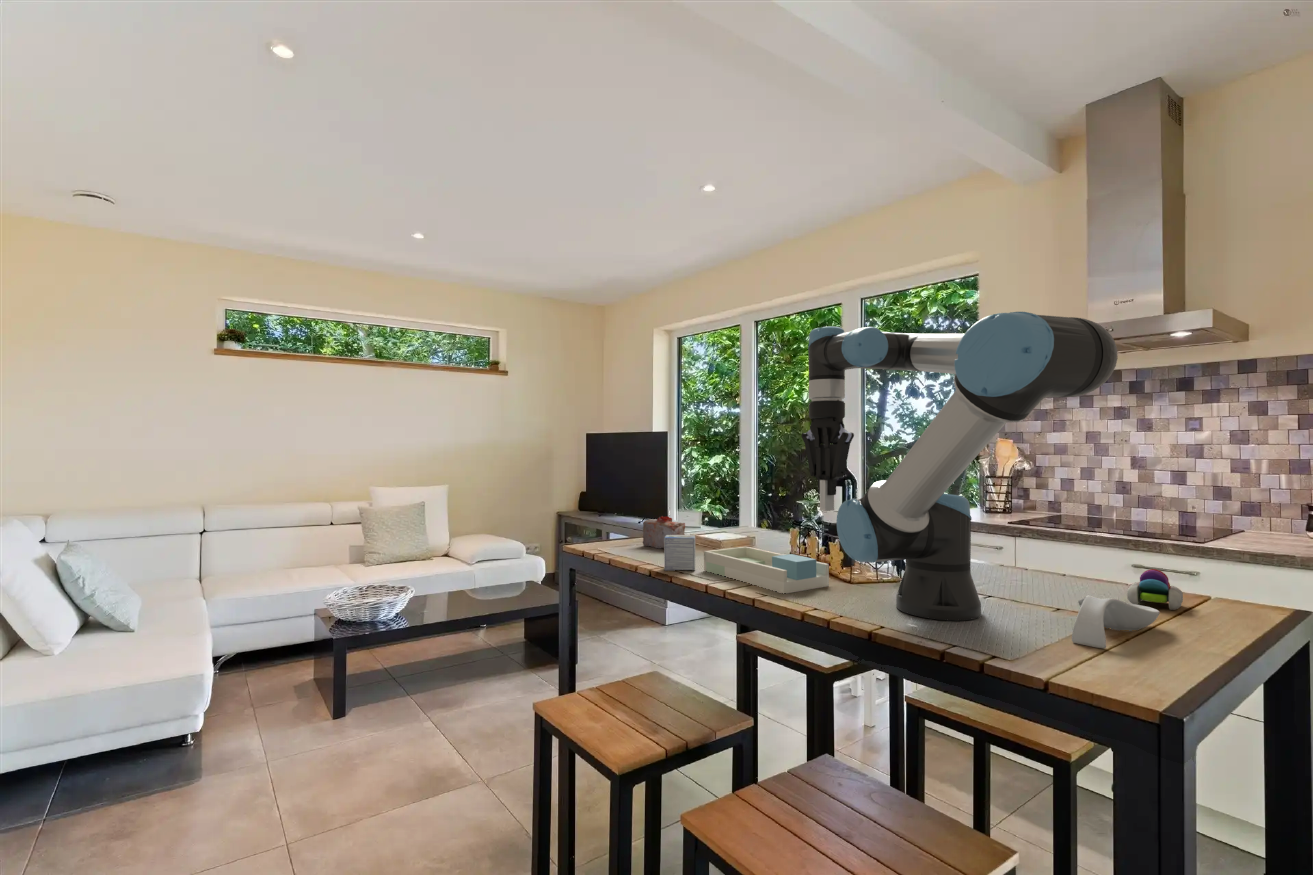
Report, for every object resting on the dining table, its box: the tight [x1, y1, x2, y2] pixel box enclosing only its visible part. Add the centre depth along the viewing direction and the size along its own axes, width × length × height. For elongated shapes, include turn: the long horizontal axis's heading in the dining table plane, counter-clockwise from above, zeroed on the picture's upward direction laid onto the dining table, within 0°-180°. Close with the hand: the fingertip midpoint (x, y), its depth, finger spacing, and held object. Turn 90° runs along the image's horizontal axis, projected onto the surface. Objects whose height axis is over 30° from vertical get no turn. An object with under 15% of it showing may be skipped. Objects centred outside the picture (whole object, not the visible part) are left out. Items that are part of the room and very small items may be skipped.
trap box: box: [703, 546, 830, 595], centre depth 152 cm, size 29×14×5 cm, turn 32°
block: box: [772, 553, 817, 580], centre depth 144 cm, size 8×6×4 cm
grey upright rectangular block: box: [663, 534, 696, 572], centre depth 163 cm, size 8×4×9 cm, turn 84°
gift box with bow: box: [642, 515, 686, 549], centre depth 197 cm, size 14×8×10 cm, turn 52°
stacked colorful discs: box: [1126, 568, 1184, 611], centre depth 127 cm, size 8×10×7 cm
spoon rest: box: [1071, 594, 1161, 649], centre depth 109 cm, size 24×12×7 cm, turn 132°
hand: (827, 510), depth 135 cm, fingers closed
